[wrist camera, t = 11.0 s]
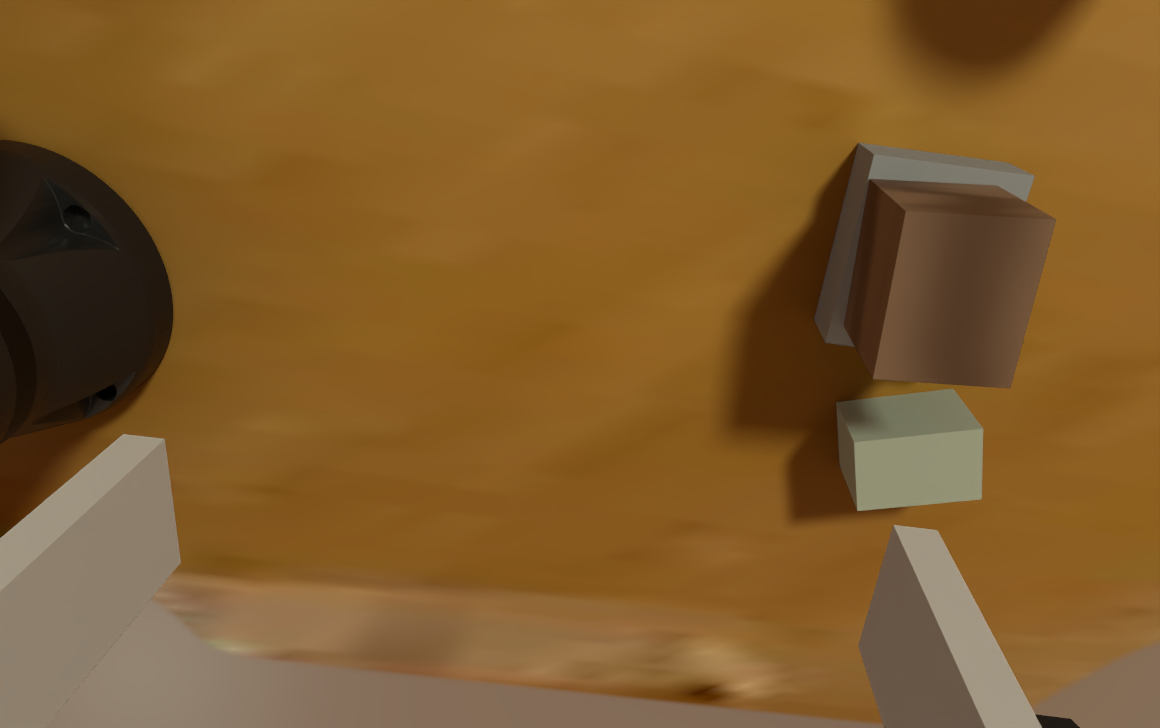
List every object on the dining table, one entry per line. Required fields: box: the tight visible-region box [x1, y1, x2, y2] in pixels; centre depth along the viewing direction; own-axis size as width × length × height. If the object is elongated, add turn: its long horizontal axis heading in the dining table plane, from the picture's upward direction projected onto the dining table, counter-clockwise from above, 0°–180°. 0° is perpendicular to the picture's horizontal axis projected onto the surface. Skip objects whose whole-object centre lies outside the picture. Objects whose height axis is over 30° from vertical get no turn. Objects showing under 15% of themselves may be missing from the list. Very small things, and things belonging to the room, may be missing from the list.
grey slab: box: [814, 143, 1035, 347], centre depth 40 cm, size 7×9×4 cm
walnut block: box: [844, 179, 1056, 388], centre depth 36 cm, size 6×7×6 cm
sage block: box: [836, 389, 983, 511], centre depth 44 cm, size 6×4×4 cm, turn 100°
